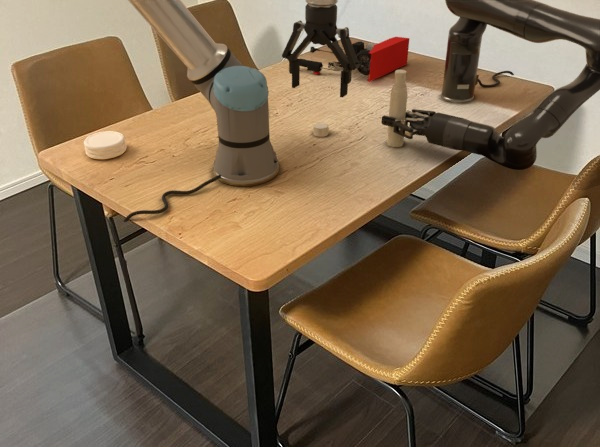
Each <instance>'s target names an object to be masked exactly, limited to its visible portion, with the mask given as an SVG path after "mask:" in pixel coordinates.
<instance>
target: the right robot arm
mask: <svg viewBox="0 0 600 447" xmlns="http://www.w3.org/2000/svg"><path fill="white" fill-rule="evenodd" d="M444 1H445V5H446V7H447V9H448V10H449V12H450V13H451V14H452V15H454V16H456V17H458V20H457V21H456V22H455V23H454V24H453V25H452V26H451V27H450V28H449V30H448V37H447V44H446V53H445V63H444V70H443V71H444V72H443V81H442V89H441V94H440V97H441V99H442V100H444V101H446V102H448V103H454V104H466V103H470V102H472V101H474V99H475V91H476V90H475V89H476V86H478V85H479V86H480V87H482V88H494V87H497V86H499V85H500V84H501V81H500V80H499V79H498V78H497V77H498V76H499V75H503V74H509V75H511V76H515V73H514V72H513V71H510V70H502V71H499V72H496V73H494V74H493V75H492V76H491V78H492V80H493V81H494V82H495V83H492V84H484V83H482V81H481V79H480V78H479V76H480V74H478V70H479V69H478V68H479V63H480V54H481V48H482V47H481V46H482V40H483V35H484V33H485V31H486V30H487V26H490V27H492V28H495V29H497V30H499V31H503V32H505V33H508V34H510V35H513V36H514V37H517V38H520V39H522V40H525V41H528V42H530V43H534V44H544V43H549V42H553V41H557V40H562V41H567V42H569V43H570V42H571V43H574V44H576V45H578V46H581V47H582V48H584V49H585V61H586V64H585V65H584V67H583V69H582V70H581V71H580V72H579V74H578V76H577V77H576V78H574V80H572V81H571V82H569V83H567V84H566V85H562V86H560V87H558V88H556V89H554V90H553V91H551V92H550V93H549V94H547V95H546V96H545V97H544V98H543V99H542V100H541V101H540V102H539V104H538V105H537V106H535V108H534V109H533V110H532V112H531V113H530V114H528V115H527V116H525V117H523V118H522V119H521V120H518V121H517V122H516V123H515V124H513V125H512V126H511V127H510V128H509V129H508V130H507V131H506V133H505V134H504V136H502V135H500V134H499V132H498V131H497V129H496V128H495V127H494V126H492V125H490V124H484V123H480V122H475V121H473V120H470V119H467V118H464V117H460V116H455V115H451V114H447V113H444V112H443V113H442V112H436V111H434V110H424V109H416V108H413V109H411V111H410V110H406V119H397V118H393V117H389V115H385V114H384V115H382V116H381V125H383V126H387V127H388V126H390V127H394V129H393V132H394V133H396V134H399V135H401V136H403V137H404V139H407V140H413V138H414V136H421V137H425V138H426V141H427V142H428V144H432V145H435V146H439V147H443V148H447V149H451V150H455V151H463V152H467V153H471V154H473V155H479V156H482V157H484V158H486V159H488V160H489V161H492V162H493V163H496V164H497V165H500V166H502V167H504V168H507V169H510V170H514V171H523V170H527V169H529V168H531V167H532V166H533V165H534V164H535V163H536V160H537V154H538V153H537V152H538V151H537V144H538V143H539V141H541V139H548V138H551V137H552V136H554V135H555V134H556V133H558V131H559V130H560V129H561V128H562V126H564V125H565V123H567V121H568V120H569V119H570V118H571V116H572V115H574V113H575V112H576V111H577V110H578V109H579V108H580V107H581V106H583V105H584V103H586V102H587V101H589V99H590V98H592V97H593V96H594V95H595V94H596V93H598V92H599V91H600V18H596V17H591V16H585V15H581V14H578V13H574V12H570V11H567V10H564V9H561V8H556V7H554V6H551V5H549V4H547V3H543V2H541V1H537V0H444ZM402 123H404V124H402Z"/></svg>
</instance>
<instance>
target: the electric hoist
mask: <svg viewBox="0 0 600 447" xmlns="http://www.w3.org/2000/svg"><path fill="white" fill-rule="evenodd" d="M352 46H353V48H354V51H355V54H356V56H357V59H358V62H359V64H360V66H359V67H358V68H357V69H356V70H357V72H358V73H359V74H362V75H364V76H368V78H367V79H366V81H367V82H372V81H374V80H376V79H378V78H381V77H383V76H385V75H387V74H389V73H391V72H394V71H396V70H399V68H400V69H401V68H402V67H404V66H406V65H408V58H409V48H410V47H409V46H410V38H409V37H402V36H393V37H391V38H388V39H385V40H383V41H381V42H378V43H377V42H368V44H366V45H365V42H363V41H356V42H353V43H352ZM340 47H341V49H342V50H343V51H344V48H343V46H342V45H340ZM316 51H317V52H324V53H325V52H326V53H331V54H333V52H332V51H328V50H322V49H319V48H316V47H315V46H310V48H309V53H312V54H314V53H315V52H316ZM296 60H300V67H302V68H303V67H304V68H306V71H310V72H313V74H314V75H320V74H321V71H322V70H328V71H334V72H341V71H342V70H344V69H343V67H342V66H341V64H340V63H339V61H334V62H332V61H329V62H327V65H328V66H327V67H324V65H323V63H322V62H321V61H315V60H310V59H305V58H297V59H296Z"/></svg>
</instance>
